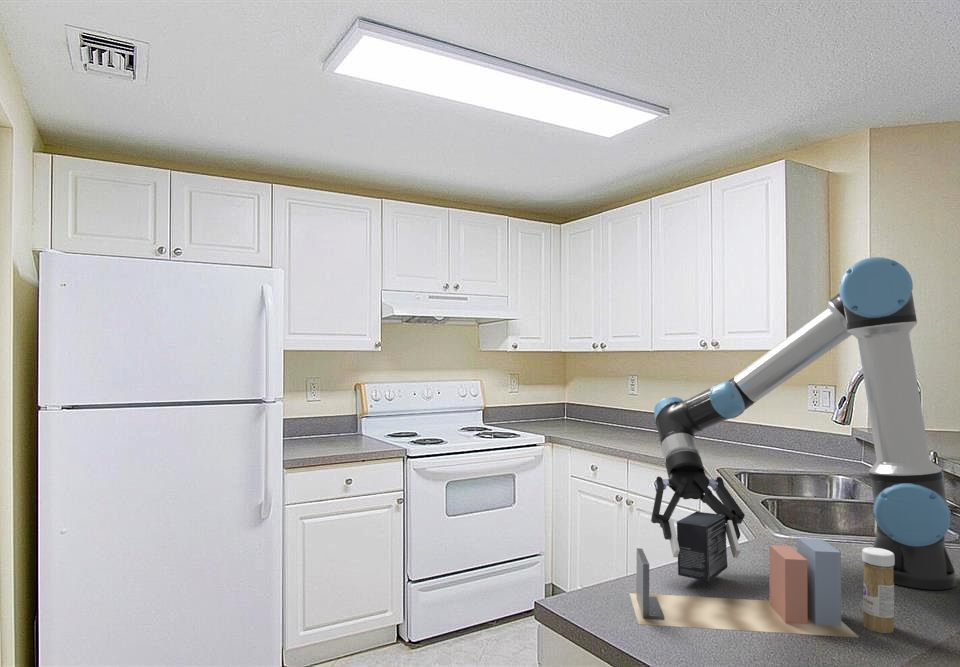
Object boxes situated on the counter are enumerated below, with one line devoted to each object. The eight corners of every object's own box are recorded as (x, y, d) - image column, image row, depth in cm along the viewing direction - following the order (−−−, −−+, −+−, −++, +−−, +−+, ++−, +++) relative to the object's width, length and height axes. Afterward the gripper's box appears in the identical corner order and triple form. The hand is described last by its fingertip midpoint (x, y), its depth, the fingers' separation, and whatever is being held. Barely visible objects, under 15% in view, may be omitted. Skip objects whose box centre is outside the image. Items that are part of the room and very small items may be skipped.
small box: (696, 561, 133) (695, 510, 134) (728, 568, 129) (727, 514, 130) (675, 575, 125) (674, 520, 125) (709, 582, 121) (708, 525, 121)
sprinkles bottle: (856, 627, 109) (856, 546, 109) (884, 627, 109) (883, 546, 109) (873, 639, 104) (872, 554, 104) (901, 639, 104) (901, 555, 104)
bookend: (656, 599, 117) (656, 549, 118) (664, 619, 108) (664, 565, 109) (636, 598, 118) (636, 548, 118) (642, 618, 109) (643, 564, 109)
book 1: (790, 605, 115) (790, 545, 115) (807, 624, 107) (807, 560, 107) (769, 604, 115) (769, 545, 116) (785, 623, 108) (785, 559, 108)
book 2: (821, 607, 114) (821, 538, 115) (841, 626, 106) (840, 552, 107) (797, 606, 115) (797, 537, 115) (815, 624, 107) (815, 551, 107)
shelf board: (822, 609, 116) (822, 603, 116) (859, 643, 102) (859, 637, 102) (629, 598, 120) (629, 593, 120) (638, 630, 106) (638, 624, 106)
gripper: (732, 469, 143) (762, 564, 127) (626, 469, 143) (642, 563, 127) (741, 449, 138) (773, 544, 122) (630, 448, 138) (648, 543, 122)
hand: (706, 554), depth 124 cm, fingers closed on small box, 11 cm apart
